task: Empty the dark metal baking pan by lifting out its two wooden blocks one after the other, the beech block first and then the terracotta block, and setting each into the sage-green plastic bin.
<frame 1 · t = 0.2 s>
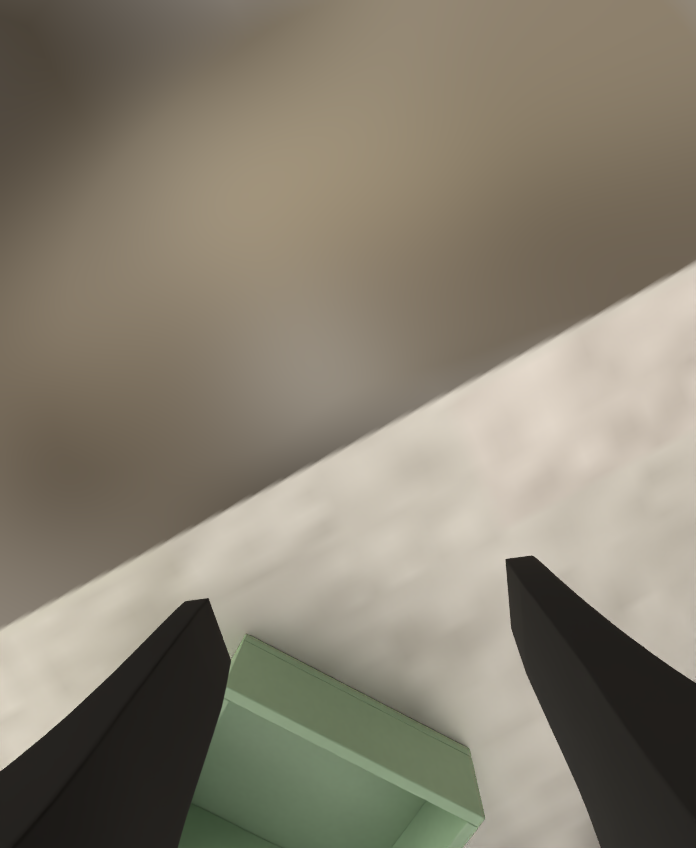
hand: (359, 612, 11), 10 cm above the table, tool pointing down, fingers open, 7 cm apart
bin: (309, 767, 24), on the table
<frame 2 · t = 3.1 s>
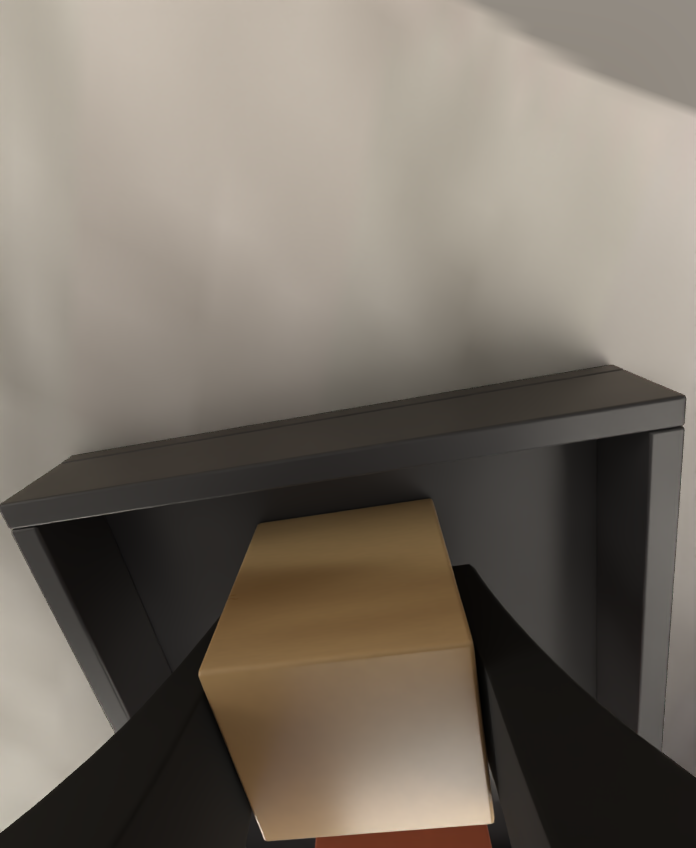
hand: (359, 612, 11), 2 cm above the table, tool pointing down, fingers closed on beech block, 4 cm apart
beech block: (358, 581, 12), resting on pan, touching gripper
terracotta block: (403, 781, 14), resting on pan
pan: (383, 676, 14), on the table
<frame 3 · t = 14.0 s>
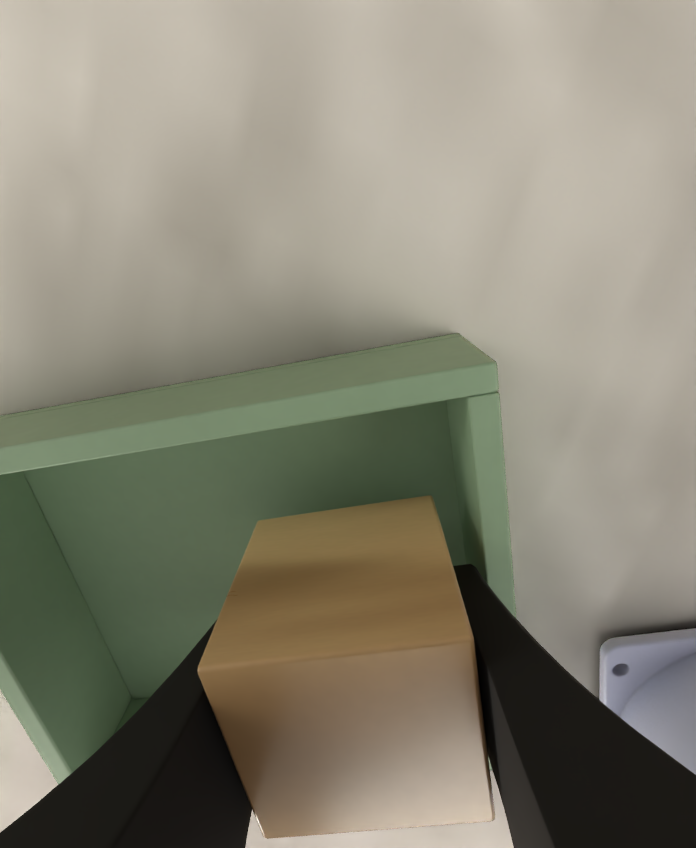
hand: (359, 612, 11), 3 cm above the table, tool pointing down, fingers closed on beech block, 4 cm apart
bin: (265, 548, 14), on the table
beech block: (358, 578, 12), point 2 cm above the table, touching gripper
when the fingers open (5 cm above the table, at t = 18.7 s): beech block drops 3 cm, resting on bin.
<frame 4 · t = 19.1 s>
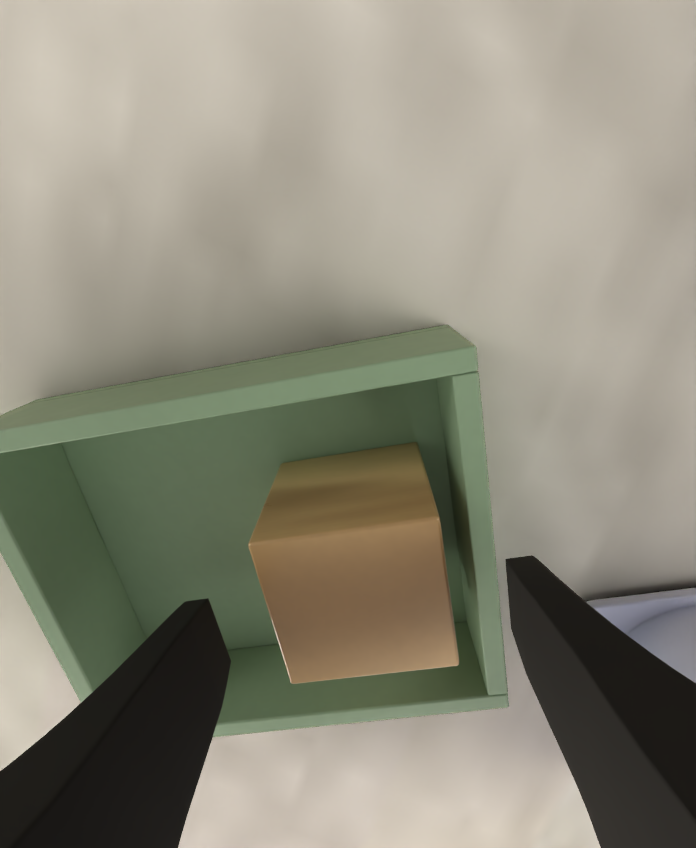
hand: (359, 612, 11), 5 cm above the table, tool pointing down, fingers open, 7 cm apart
bin: (276, 519, 16), on the table
beech block: (360, 511, 15), resting on bin
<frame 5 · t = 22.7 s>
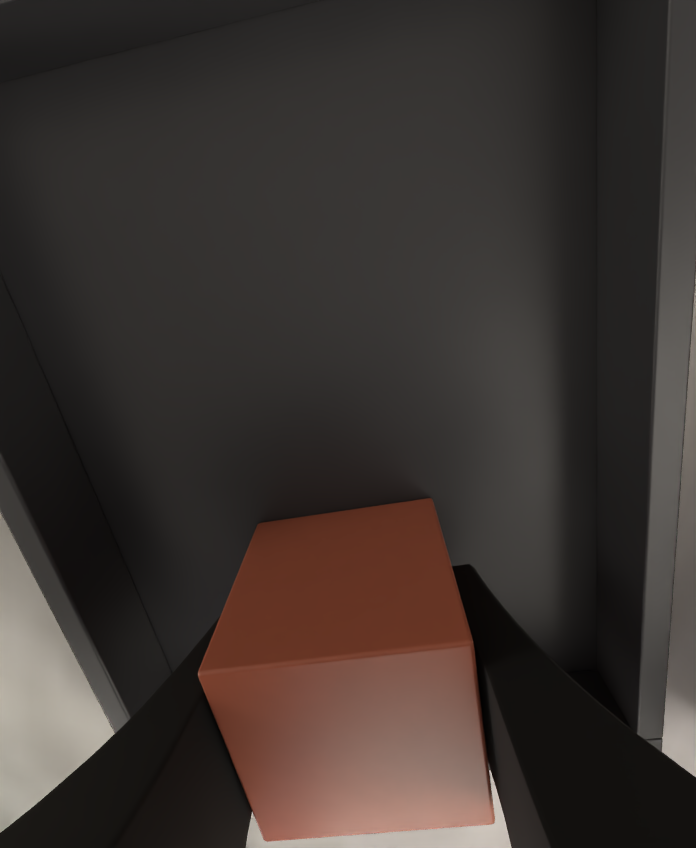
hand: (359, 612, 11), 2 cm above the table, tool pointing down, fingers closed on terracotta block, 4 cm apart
terracotta block: (358, 581, 12), resting on pan, touching gripper
pan: (331, 434, 11), on the table
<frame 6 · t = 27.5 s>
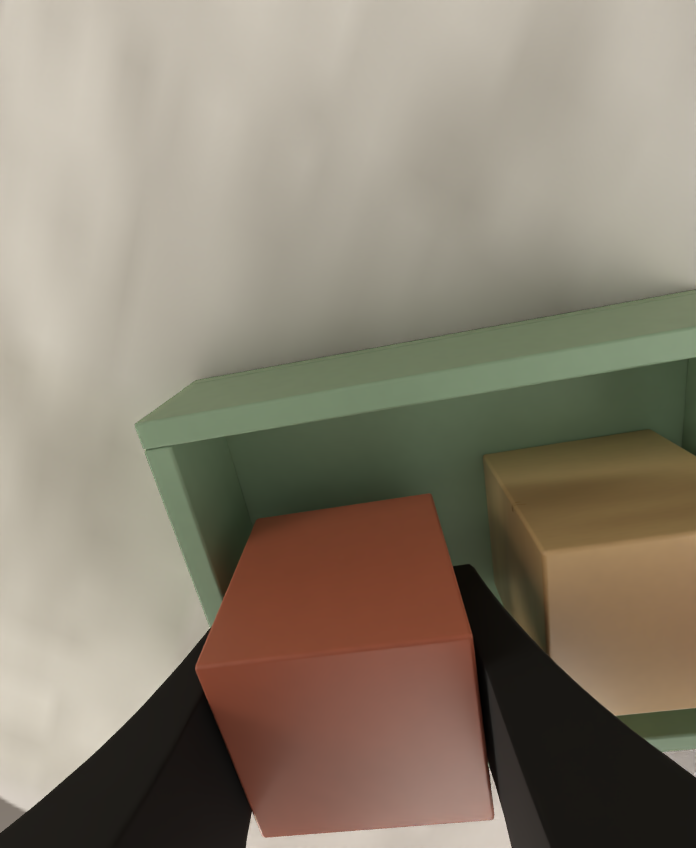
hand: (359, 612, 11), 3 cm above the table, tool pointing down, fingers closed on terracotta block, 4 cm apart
bin: (457, 520, 13), on the table
beech block: (566, 511, 13), resting on bin
terracotta block: (357, 577, 12), point 2 cm above the table, touching gripper
when the fingers open (5 cm above the table, at t = 37.1 s): terracotta block drops 3 cm, resting on bin.
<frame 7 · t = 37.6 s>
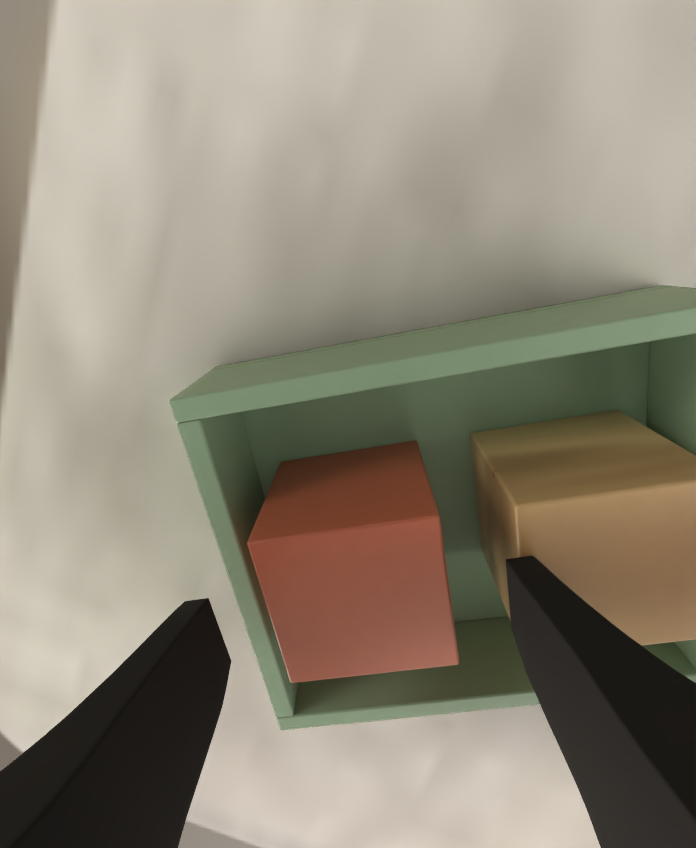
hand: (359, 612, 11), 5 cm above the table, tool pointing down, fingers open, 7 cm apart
bin: (448, 493, 15), on the table
beech block: (545, 484, 14), resting on bin
terracotta block: (359, 510, 15), resting on bin
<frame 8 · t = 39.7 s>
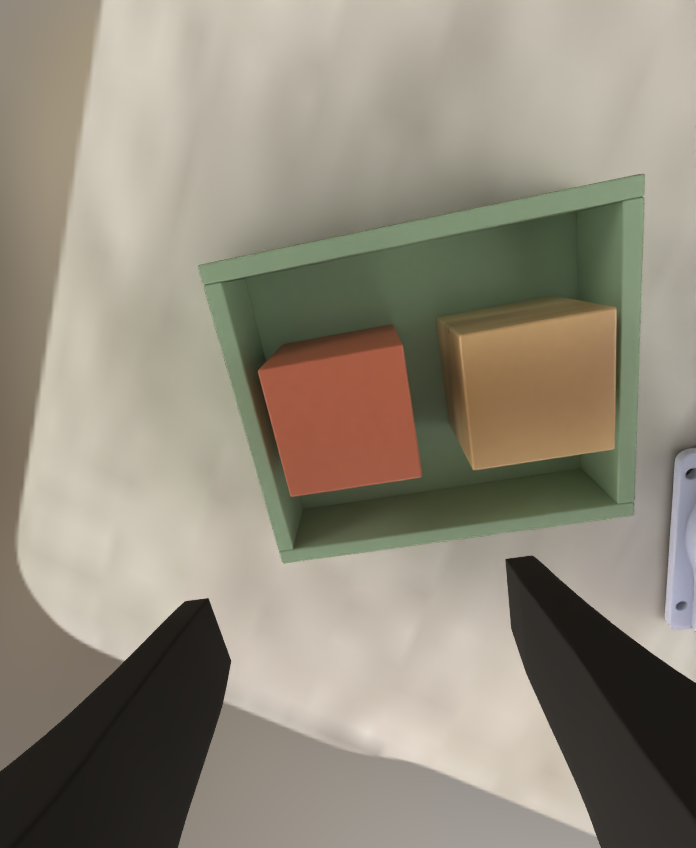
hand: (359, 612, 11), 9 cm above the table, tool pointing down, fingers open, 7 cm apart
bin: (421, 375, 18), on the table
beech block: (498, 363, 17), resting on bin
terracotta block: (347, 388, 18), resting on bin
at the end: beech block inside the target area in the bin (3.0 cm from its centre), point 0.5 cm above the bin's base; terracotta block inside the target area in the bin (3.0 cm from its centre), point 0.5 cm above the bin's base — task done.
